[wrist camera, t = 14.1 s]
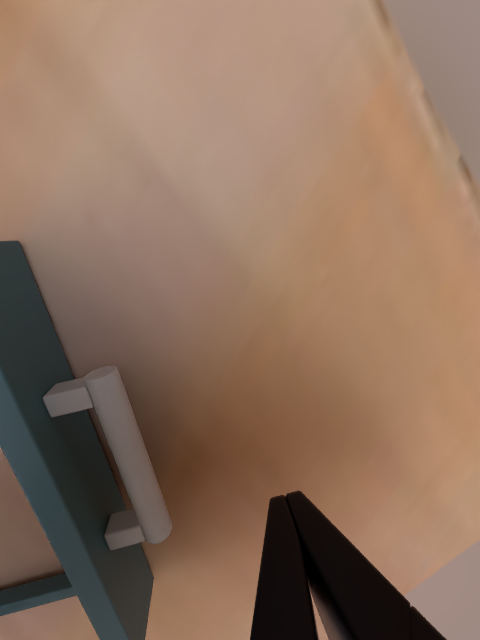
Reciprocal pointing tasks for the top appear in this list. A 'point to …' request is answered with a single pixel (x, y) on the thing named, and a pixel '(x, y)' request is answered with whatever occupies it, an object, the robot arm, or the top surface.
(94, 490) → the drawer
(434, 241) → the top surface
